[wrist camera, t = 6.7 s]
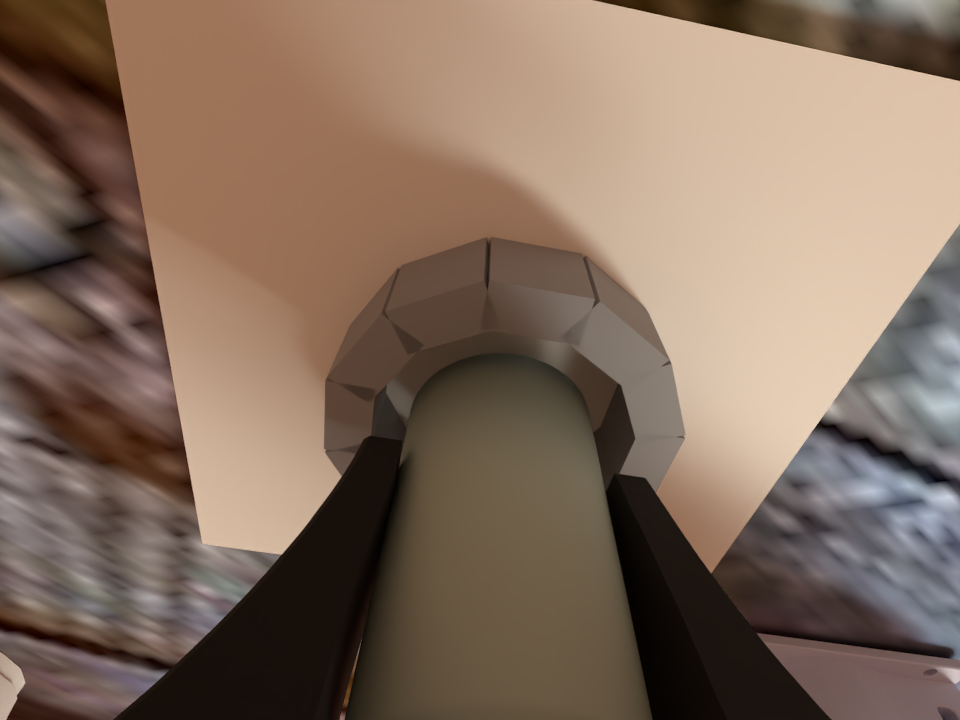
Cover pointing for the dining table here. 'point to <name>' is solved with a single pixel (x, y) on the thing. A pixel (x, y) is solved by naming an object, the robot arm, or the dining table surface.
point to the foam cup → (9, 685)
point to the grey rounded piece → (499, 561)
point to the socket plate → (517, 232)
